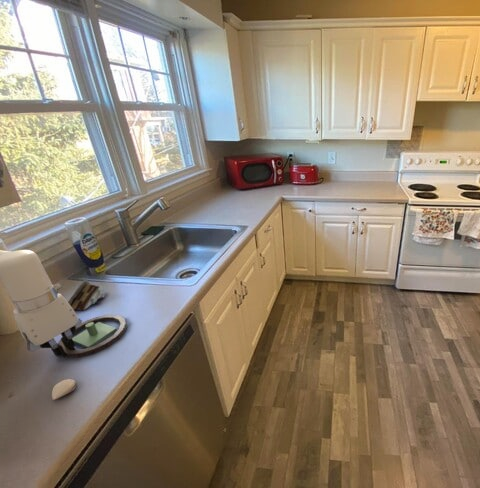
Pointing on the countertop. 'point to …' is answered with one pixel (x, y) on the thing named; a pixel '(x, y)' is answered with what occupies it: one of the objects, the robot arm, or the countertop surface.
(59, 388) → the cream half-moon wedge
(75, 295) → the chocolate cake
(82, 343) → the peg stand
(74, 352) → the hoop
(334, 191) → the countertop surface
